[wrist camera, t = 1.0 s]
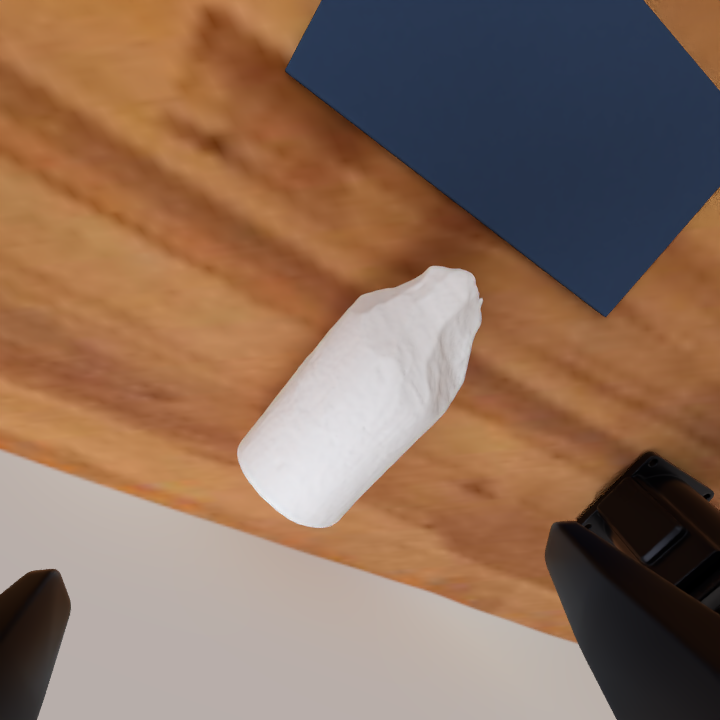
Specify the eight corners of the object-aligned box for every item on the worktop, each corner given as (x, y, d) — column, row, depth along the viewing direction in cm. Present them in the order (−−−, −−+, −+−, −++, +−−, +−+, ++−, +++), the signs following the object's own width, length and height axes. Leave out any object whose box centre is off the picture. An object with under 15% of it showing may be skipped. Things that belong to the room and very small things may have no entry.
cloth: (754, 139, 20) (761, 139, 19) (602, 315, 22) (606, 317, 22) (442, -229, 14) (445, -236, 13) (284, 71, 16) (284, 70, 16)
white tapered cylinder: (493, 297, 21) (556, 343, 16) (337, 470, 24) (349, 554, 19) (399, 215, 19) (438, 238, 14) (241, 416, 22) (226, 494, 17)
